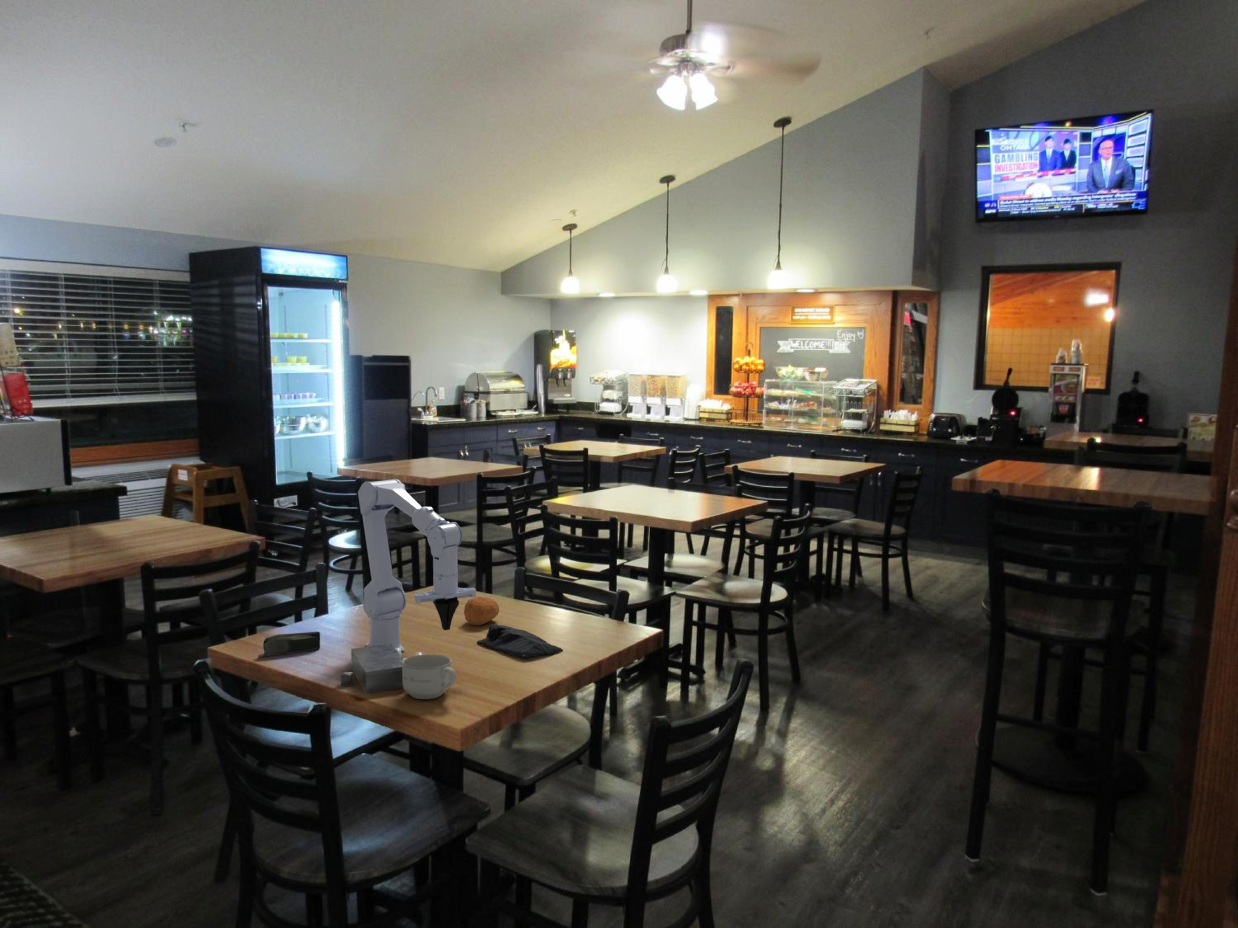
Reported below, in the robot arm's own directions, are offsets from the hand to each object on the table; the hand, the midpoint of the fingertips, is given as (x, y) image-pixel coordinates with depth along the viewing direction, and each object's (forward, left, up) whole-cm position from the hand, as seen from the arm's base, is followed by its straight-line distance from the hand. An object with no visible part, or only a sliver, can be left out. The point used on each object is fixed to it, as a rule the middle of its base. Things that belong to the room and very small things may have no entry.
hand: (446, 628), depth 204 cm
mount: (-1, -16, -10) cm, 19 cm away
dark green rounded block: (-29, -32, -10) cm, 45 cm away
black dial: (0, -23, -10) cm, 25 cm away
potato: (-34, +20, -10) cm, 41 cm away
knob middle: (-1, -10, -9) cm, 14 cm away
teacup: (+16, -8, -10) cm, 21 cm away
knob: (-7, -14, -9) cm, 18 cm away
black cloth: (-8, +22, -11) cm, 26 cm away
